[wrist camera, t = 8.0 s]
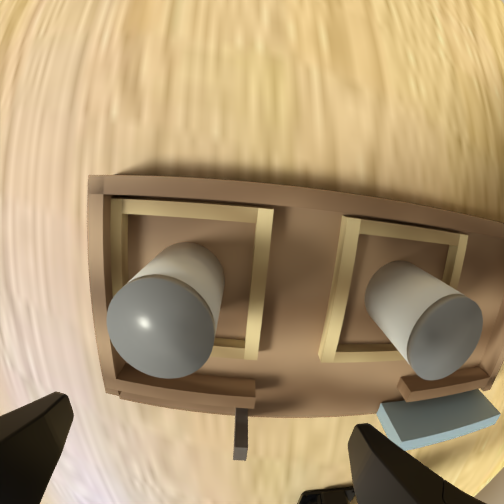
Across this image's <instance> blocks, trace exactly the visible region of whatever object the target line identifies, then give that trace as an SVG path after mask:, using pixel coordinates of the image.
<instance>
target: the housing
mask: <svg viewBox="0 0 504 504" xmlns="http://www.w3.org/2000/svg"><path fill="white" fill-rule="evenodd" d="M87 240H88V265H89V281H90V293H91V303H92V312H93V321H94V328H95V335H96V342H97V349H98V355H99V360H100V366H101V371H102V376H103V381H104V386H105V391H106V393H109V394H113V395H117V396H119V397H120V399H124V400H128V401H133V402H138V403H143V404H148V405H154V406H160V407H166V408H172V409H179V410H186V411H194V412H202V413H211V414H222V415H234V416H235V431H234V453H233V460H244V461H246V457H247V450H248V416H250V417H275V418H312V417H337V416H352V415H364V414H375V413H377V411H378V409H379V407H380V404H381V403H388V402H396V401H404V400H405V401H406V402H413V401H420V400H426V399H432V398H437V397H442V396H448V395H453V394H457V393H462V392H466V391H471V390H475V389H479V388H481V389H482V390H483V391H486V390H490V389H491V387H492V385H493V382H494V380H495V378H496V376H497V374H498V372H499V370H500V368H501V365H502V363H503V361H504V223H501V222H497V221H493V220H488V219H484V218H480V217H476V216H471V215H467V214H462V213H458V212H453V211H448V210H444V209H439V208H434V207H429V206H423V205H418V204H413V203H407V202H402V201H396V200H390V199H384V198H378V197H372V196H365V195H359V194H352V193H345V192H338V191H330V190H323V189H315V188H307V187H298V186H289V185H280V184H270V183H259V182H248V181H236V180H223V179H209V178H192V177H172V176H144V175H89V176H88V201H87ZM182 242H189V243H195V244H198V245H201V246H203V247H205V248H206V249H208V250H209V251H211V252H212V253H213V254H214V255H215V256H216V258H217V259H218V260H219V262H220V264H221V266H222V268H223V271H224V276H225V285H224V291H223V296H222V302H221V307H220V312H219V318H218V323H217V329H216V334H215V340H214V345H213V349H212V352H211V355H210V357H209V358H208V360H207V361H206V363H205V364H204V365H203V366H202V367H201V368H200V369H198V370H197V371H195V372H194V373H192V374H190V375H187V376H184V377H180V378H172V379H166V378H158V377H154V376H151V375H147V374H145V373H143V372H141V371H139V370H137V369H135V368H134V367H133V366H131V365H130V364H129V363H127V362H126V361H125V360H124V359H123V358H122V357H121V356H120V354H119V353H118V352H117V350H116V349H115V347H114V346H113V344H112V342H111V339H110V337H109V334H108V330H107V320H106V319H107V311H108V307H109V305H110V302H111V300H112V299H113V297H114V296H115V295H116V293H117V292H118V291H119V290H120V289H121V288H122V287H123V286H125V285H126V284H127V283H128V282H129V281H130V280H131V279H132V278H133V277H134V276H135V275H136V274H137V273H138V272H140V271H141V270H142V269H143V268H144V267H145V266H146V265H147V264H148V263H149V262H151V261H152V260H153V259H154V258H155V257H156V256H157V255H158V254H159V253H161V252H162V251H163V250H164V249H165V248H167V247H169V246H171V245H173V244H176V243H182ZM398 260H401V261H407V262H410V263H412V264H413V265H415V266H417V267H418V268H420V269H422V270H424V271H425V272H427V273H429V274H430V275H432V276H434V277H436V278H437V279H439V280H441V281H442V282H444V283H446V284H447V285H449V286H450V287H452V288H454V289H455V290H457V291H459V292H460V293H462V294H463V295H465V296H467V297H468V298H470V299H471V300H473V301H475V302H476V303H477V304H478V306H479V307H480V309H481V312H482V316H483V327H482V332H481V336H480V339H479V342H478V344H477V346H476V348H475V350H474V351H473V353H472V354H471V356H470V357H469V358H468V360H467V361H466V362H465V363H464V364H463V365H462V366H461V367H460V368H459V369H458V370H456V371H455V372H453V373H452V374H450V375H449V376H446V377H444V378H441V379H438V380H425V379H423V378H421V377H419V376H418V375H417V374H416V372H415V371H414V370H413V369H412V367H411V366H410V365H409V364H408V362H407V361H406V360H405V359H404V357H403V356H402V355H401V353H400V352H399V351H398V350H397V349H396V347H395V346H394V345H393V344H392V342H391V341H390V340H389V339H388V337H387V336H386V335H385V334H384V333H383V331H382V330H381V329H380V328H379V326H378V325H377V324H376V323H375V322H374V320H373V319H372V318H371V317H370V316H369V314H368V312H367V310H366V307H365V292H366V288H367V285H368V283H369V281H370V279H371V278H372V276H373V275H374V274H375V273H376V272H377V271H378V270H379V269H380V268H381V267H382V266H384V265H386V264H387V263H390V262H393V261H398Z"/></svg>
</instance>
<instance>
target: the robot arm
mask: <svg viewBox="0 0 504 504" xmlns="http://www.w3.org/2000/svg"><path fill="white" fill-rule="evenodd" d="M73 417H74V414H73V410H72V407H71V404H70V401H69V398H68V396H67V395H66V394H63V393H60V392H54V393H52V394H49V395H47V396H45V397H43V398H41V399H38V400H36V401H34V402H32V403H29V404H27V405H25V406H23V407H20V408H18V409H16V410H13V411H11V412H9V413H7V414H4V415H2V416H0V504H40V502H41V499H42V497H43V495H44V492H45V490H46V487H47V485H48V483H49V480H50V478H51V476H52V474H53V471H54V469H55V467H56V465H57V463H58V460H59V458H60V456H61V453H62V451H63V448H64V445H65V442H66V439H67V436H68V433H69V430H70V427H71V424H72V421H73ZM348 452H349V458H350V466H351V473H352V480H353V486H354V487H350V488H342V489H334V490H324V491H313V492H304V493H302V494H301V497H300V499H299V501H298V503H297V504H350V502H351V500H352V499H353V497H354V496H355V495H356V498H357V502H358V504H486V503H484V502H482V501H480V500H478V499H476V498H474V497H472V496H470V495H468V494H466V493H465V492H463V491H461V490H460V489H458V488H457V487H455V486H453V485H452V484H451V483H449V482H448V481H446V480H444V479H443V478H442V477H440V476H439V475H437V474H436V473H435V472H433V471H432V470H430V469H429V468H428V467H426V466H425V465H423V464H422V463H421V462H419V461H418V460H416V459H415V458H414V457H412V456H411V455H410V454H408V453H407V452H406V451H404V450H403V449H402V448H400V447H399V446H398V445H396V444H395V443H394V442H392V441H391V440H390V439H388V438H387V437H386V436H385V435H383V434H382V433H381V432H379V431H378V430H377V429H376V428H374V427H373V426H372V425H370V424H368V423H364V424H357V425H356V426H355V427H354V429H353V432H352V434H351V436H350V439H349V441H348Z"/></svg>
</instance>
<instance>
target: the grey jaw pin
mask: <svg viewBox="0 0 504 504" xmlns="http://www.w3.org/2000/svg"><path fill="white" fill-rule="evenodd" d="M224 285H225V276H224V271H223V268H222V266H221V264H220V262H219V260H218V259H217V258H216V256H215V255H214V254H213V253H212V252H211V251H209V250H208V249H206V248H205V247H203V246H201V245H198V244H195V243H189V242H182V243H176V244H173V245H171V246H169V247H167V248H165V249H164V250H163V251H162V252H161V253H159V254H158V255H157V256H156V257H155V258H154V259H153V260H152V261H151V262H149V263H148V264H147V265H146V266H145V267H144V268H143V269H142V270H141V271H140V272H138V273H137V274H136V275H135V276H134V277H133V278H132V279H131V280H130V281H129V282H128V283H127V284H126V285H125V286H123V287H122V288H121V289H120V290H119V291H118V292H117V293H116V295H115V296H114V297H113V299H112V300H111V302H110V305H109V307H108V311H107V319H106V320H107V330H108V334H109V337H110V339H111V342H112V344H113V346H114V347H115V349H116V350H117V352H118V353H119V354H120V356H121V357H122V358H123V359H124V360H125V361H126V362H127V363H129V364H130V365H131V366H133V367H134V368H135V369H137V370H139V371H141V372H143V373H145V374H147V375H151V376H154V377H158V378H166V379H172V378H180V377H184V376H187V375H190V374H192V373H194V372H195V371H197V370H198V369H200V368H201V367H202V366H203V365H204V364H205V363H206V361H207V360H208V358H209V357H210V355H211V352H212V349H213V345H214V340H215V334H216V329H217V323H218V318H219V312H220V307H221V302H222V296H223V291H224Z"/></svg>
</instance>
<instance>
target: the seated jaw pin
mask: <svg viewBox="0 0 504 504" xmlns="http://www.w3.org/2000/svg"><path fill="white" fill-rule="evenodd" d="M365 307H366V310H367V312H368V314H369V316H370V317H371V318H372V319H373V320H374V322H375V323H376V324H377V325H378V326H379V328H380V329H381V330H382V331H383V333H384V334H385V335H386V336H387V337H388V339H389V340H390V341H391V342H392V344H393V345H394V346H395V347H396V349H397V350H398V351H399V352H400V353H401V355H402V356H403V357H404V359H405V360H406V361H407V362H408V364H409V365H410V366H411V367H412V369H413V370H414V371H415V372H416V374H417V375H418V376H419V377H421V378H423V379H425V380H438V379H441V378H444V377H446V376H449V375H450V374H452V373H453V372H455V371H456V370H458V369H459V368H460V367H461V366H462V365H463V364H464V363H465V362H466V361H467V360H468V358H469V357H470V356H471V354H472V353H473V351H474V350H475V348H476V346H477V344H478V342H479V339H480V336H481V332H482V327H483V316H482V312H481V309H480V307H479V306H478V304H477V303H476V302H475V301H473V300H471V299H470V298H468V297H467V296H465V295H463V294H462V293H460V292H459V291H457V290H455V289H454V288H452V287H450V286H449V285H447V284H446V283H444V282H442V281H441V280H439V279H437V278H436V277H434V276H432V275H430V274H429V273H427V272H425V271H424V270H422V269H420V268H418V267H417V266H415V265H413V264H412V263H410V262H407V261H401V260H398V261H393V262H390V263H387V264H386V265H384V266H382V267H381V268H380V269H379V270H378V271H377V272H376V273H375V274H374V275H373V276H372V278H371V279H370V281H369V283H368V285H367V288H366V292H365Z"/></svg>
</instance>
